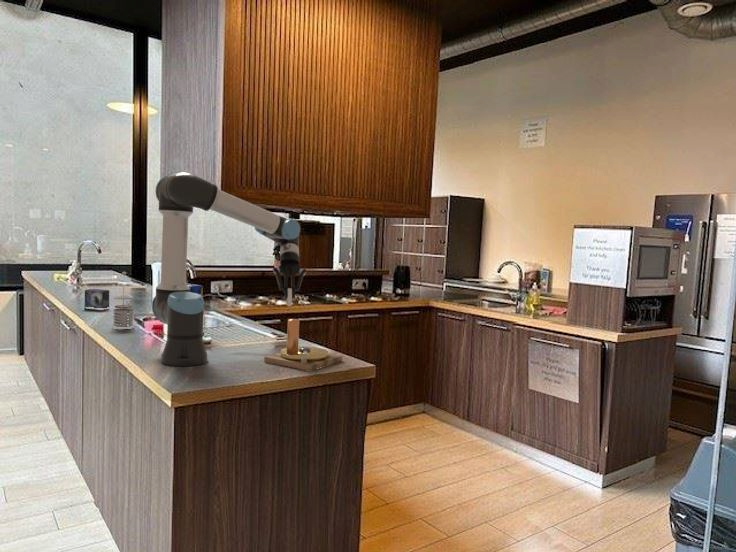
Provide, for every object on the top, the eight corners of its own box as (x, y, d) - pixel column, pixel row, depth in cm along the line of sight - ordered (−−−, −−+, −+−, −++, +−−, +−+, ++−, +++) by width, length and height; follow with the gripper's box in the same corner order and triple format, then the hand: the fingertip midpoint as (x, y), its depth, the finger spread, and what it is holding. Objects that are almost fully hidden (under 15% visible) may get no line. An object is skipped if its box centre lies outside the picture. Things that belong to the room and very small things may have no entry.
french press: (127, 325, 250) (128, 270, 248) (141, 328, 244) (143, 272, 242) (106, 327, 242) (107, 271, 240) (120, 331, 236) (121, 273, 234)
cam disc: (337, 357, 197) (339, 320, 196) (297, 363, 186) (299, 323, 185) (310, 348, 210) (311, 313, 209) (271, 353, 199) (272, 316, 198)
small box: (83, 309, 288) (83, 289, 287) (91, 308, 294) (92, 288, 293) (101, 311, 286) (102, 291, 285) (109, 309, 292) (110, 289, 292)
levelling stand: (310, 371, 185) (311, 356, 184) (264, 362, 194) (264, 348, 194) (342, 361, 202) (342, 347, 202) (298, 352, 212) (298, 340, 211)
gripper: (273, 249, 215) (272, 297, 200) (306, 251, 218) (308, 298, 203) (272, 262, 221) (271, 309, 206) (305, 264, 223) (306, 310, 208)
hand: (289, 304), depth 204 cm, fingers closed
